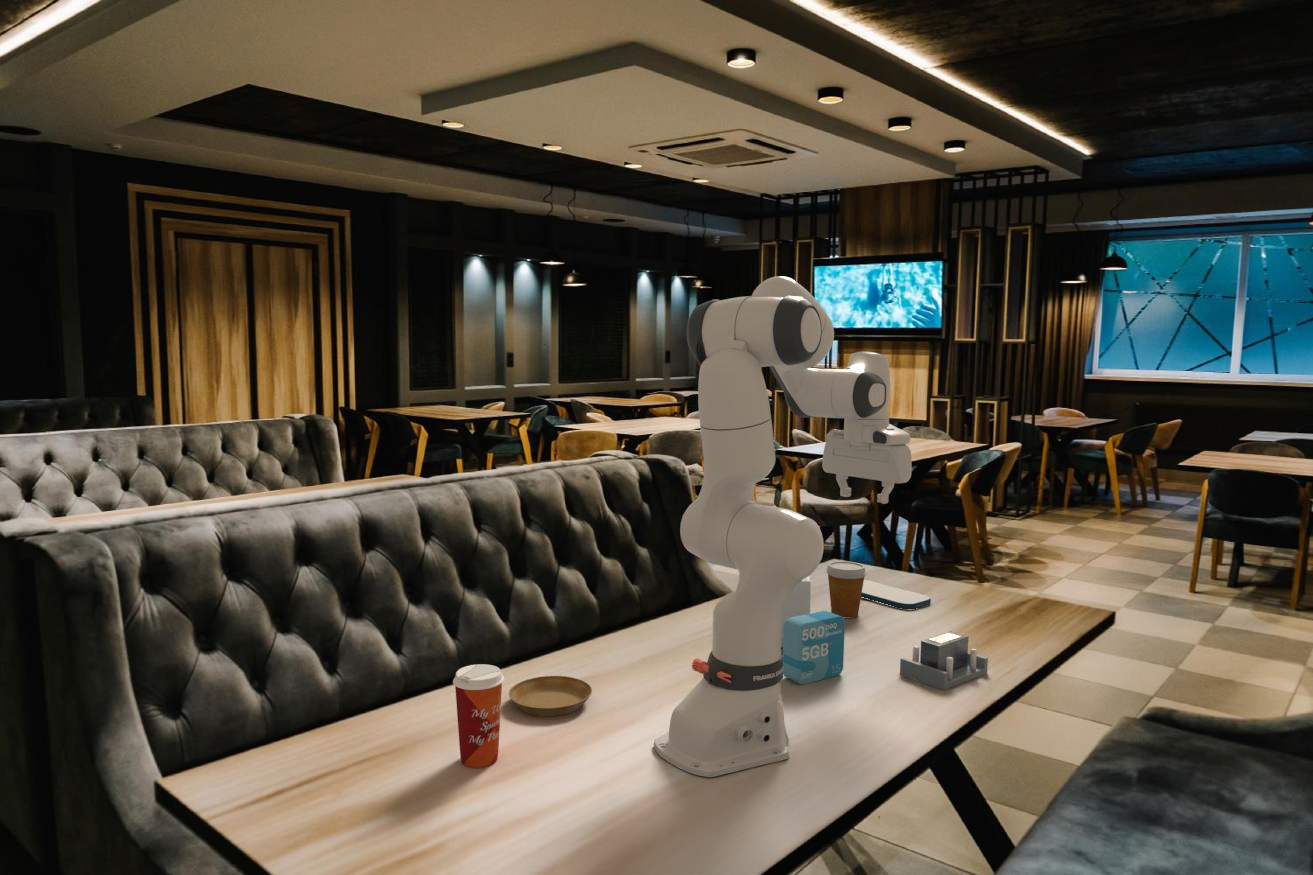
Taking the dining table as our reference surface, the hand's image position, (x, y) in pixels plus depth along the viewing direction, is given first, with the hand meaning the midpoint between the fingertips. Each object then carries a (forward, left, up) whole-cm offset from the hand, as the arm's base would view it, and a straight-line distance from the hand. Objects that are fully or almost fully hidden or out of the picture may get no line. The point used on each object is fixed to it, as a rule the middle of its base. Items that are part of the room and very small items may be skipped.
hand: (863, 499), depth 180 cm
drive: (+6, -16, -32) cm, 36 cm away
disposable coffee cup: (+21, +21, -33) cm, 45 cm away
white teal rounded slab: (+41, +25, -34) cm, 59 cm away
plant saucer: (-64, +17, -34) cm, 74 cm away
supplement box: (-5, +15, -33) cm, 37 cm away
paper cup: (-84, +5, -33) cm, 91 cm away
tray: (+6, -16, -33) cm, 37 cm away
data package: (-16, -2, -33) cm, 37 cm away
